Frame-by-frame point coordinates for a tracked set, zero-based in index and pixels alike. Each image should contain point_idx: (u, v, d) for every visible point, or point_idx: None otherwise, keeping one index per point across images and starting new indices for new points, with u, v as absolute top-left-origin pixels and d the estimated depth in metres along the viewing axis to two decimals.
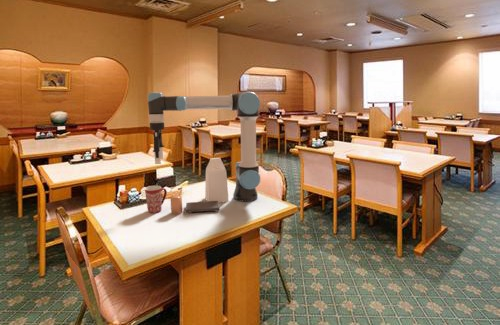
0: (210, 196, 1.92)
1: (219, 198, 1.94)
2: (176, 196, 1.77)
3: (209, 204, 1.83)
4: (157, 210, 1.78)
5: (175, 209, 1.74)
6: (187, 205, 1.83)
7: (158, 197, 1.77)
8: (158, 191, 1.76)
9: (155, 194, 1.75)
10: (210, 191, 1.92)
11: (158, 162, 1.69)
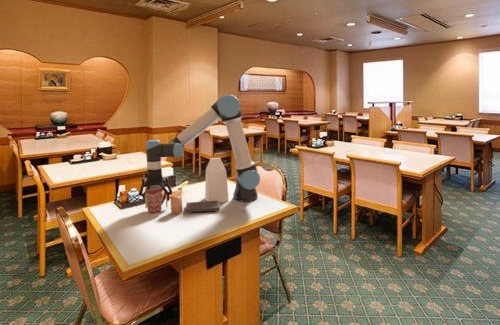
0: (210, 196, 1.92)
1: (219, 198, 1.94)
2: (176, 196, 1.77)
3: (209, 204, 1.83)
4: (157, 210, 1.78)
5: (175, 209, 1.74)
6: (187, 205, 1.83)
7: (158, 197, 1.77)
8: (158, 191, 1.76)
9: (155, 194, 1.75)
10: (210, 191, 1.92)
11: None
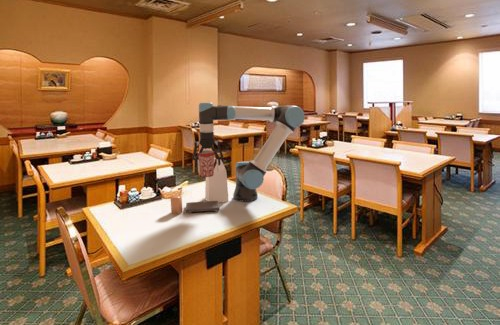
0: (210, 196, 1.92)
1: (219, 198, 1.94)
2: (176, 196, 1.77)
3: (209, 204, 1.83)
4: (210, 174, 1.76)
5: (175, 209, 1.74)
6: (187, 205, 1.83)
7: (211, 161, 1.75)
8: (212, 154, 1.74)
9: (209, 157, 1.73)
10: (210, 191, 1.92)
11: (198, 170, 1.78)
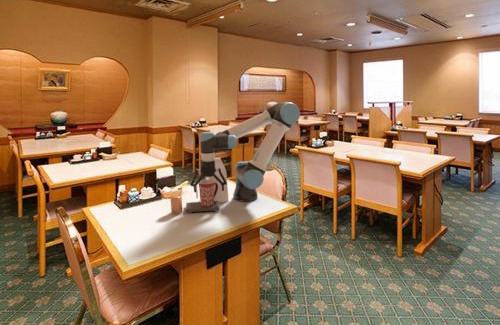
0: None
1: (219, 198, 1.94)
2: (176, 196, 1.77)
3: None
4: (210, 204, 1.80)
5: (175, 209, 1.74)
6: (187, 205, 1.83)
7: (212, 191, 1.79)
8: (212, 185, 1.78)
9: (209, 188, 1.77)
10: None
11: (196, 196, 1.81)
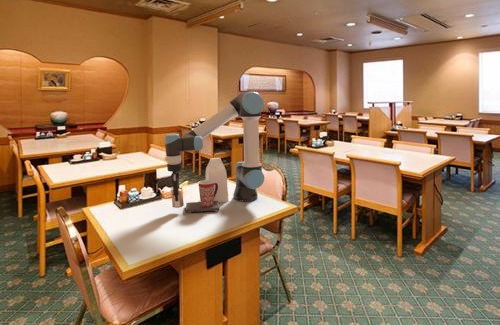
0: None
1: (219, 198, 1.94)
2: None
3: None
4: (210, 204, 1.80)
5: None
6: (187, 205, 1.83)
7: (212, 191, 1.79)
8: (212, 185, 1.78)
9: (209, 188, 1.77)
10: None
11: (177, 205, 1.73)
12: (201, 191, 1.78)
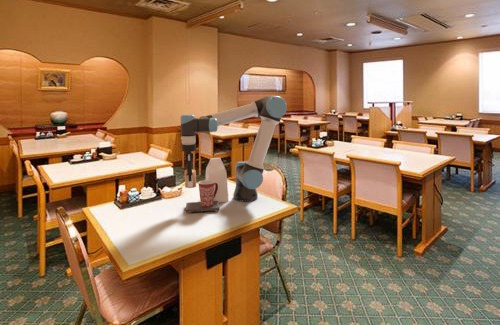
0: None
1: (219, 198, 1.94)
2: None
3: None
4: (210, 204, 1.80)
5: None
6: (187, 205, 1.83)
7: (212, 191, 1.79)
8: (212, 185, 1.78)
9: (209, 188, 1.77)
10: None
11: (190, 185, 1.75)
12: (201, 191, 1.78)
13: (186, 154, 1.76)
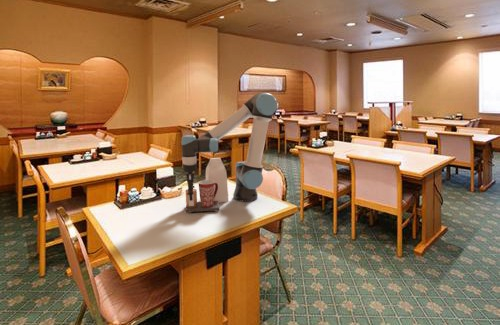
0: None
1: (219, 198, 1.94)
2: None
3: None
4: (210, 204, 1.80)
5: None
6: None
7: (212, 191, 1.79)
8: (212, 185, 1.78)
9: (209, 188, 1.77)
10: None
11: (191, 204, 1.75)
12: (201, 191, 1.78)
13: (187, 174, 1.78)
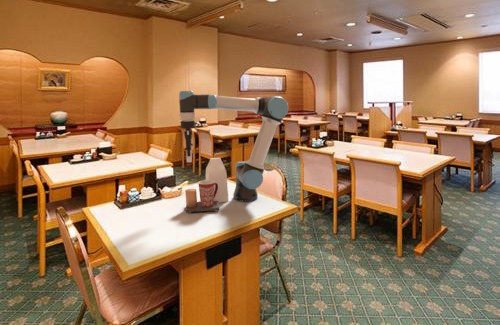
0: None
1: (219, 198, 1.94)
2: (190, 189, 1.80)
3: None
4: (210, 204, 1.80)
5: (190, 202, 1.78)
6: None
7: (212, 191, 1.79)
8: (212, 185, 1.78)
9: (209, 188, 1.77)
10: None
11: (189, 160, 1.69)
12: (201, 191, 1.78)
13: (185, 132, 1.74)
